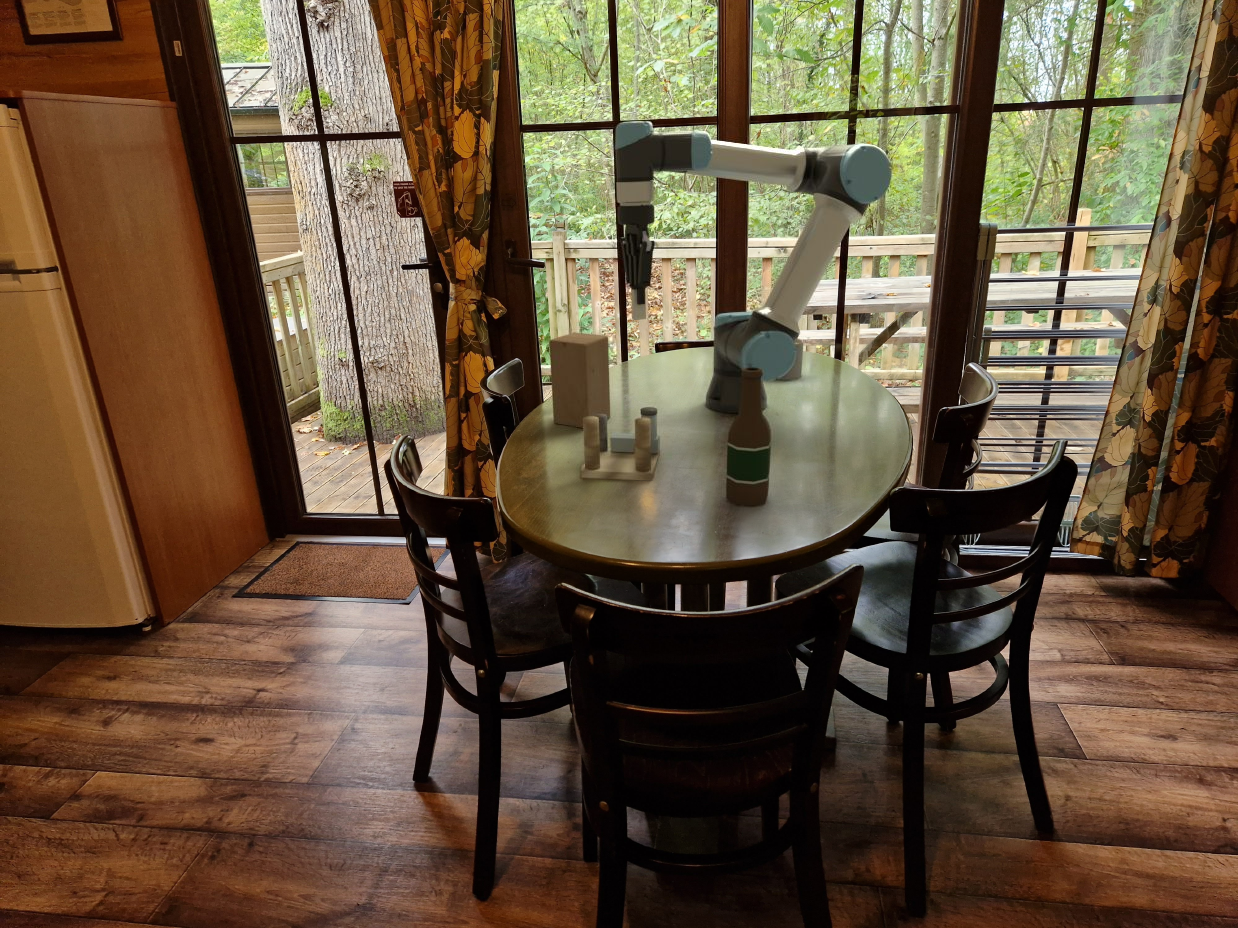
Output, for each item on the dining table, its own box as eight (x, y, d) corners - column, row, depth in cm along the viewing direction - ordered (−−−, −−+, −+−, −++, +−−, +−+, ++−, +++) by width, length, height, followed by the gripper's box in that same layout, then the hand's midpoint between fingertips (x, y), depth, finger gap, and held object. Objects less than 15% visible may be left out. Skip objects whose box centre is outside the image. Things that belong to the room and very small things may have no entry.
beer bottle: (721, 491, 145) (724, 364, 136) (762, 489, 145) (768, 362, 137) (730, 508, 138) (734, 375, 129) (774, 506, 138) (781, 373, 130)
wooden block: (587, 429, 181) (584, 343, 174) (552, 423, 186) (548, 339, 179) (611, 418, 189) (609, 335, 181) (577, 412, 194) (573, 331, 186)
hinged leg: (657, 453, 159) (657, 412, 156) (610, 451, 161) (609, 410, 158) (660, 448, 162) (659, 407, 159) (613, 446, 164) (612, 405, 161)
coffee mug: (799, 371, 226) (801, 337, 223) (802, 380, 217) (805, 344, 213) (752, 371, 228) (753, 337, 224) (753, 380, 219) (755, 344, 215)
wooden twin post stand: (660, 455, 164) (659, 402, 160) (652, 480, 151) (651, 423, 147) (594, 453, 166) (592, 400, 162) (580, 477, 153) (578, 421, 149)
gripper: (666, 204, 156) (667, 322, 165) (639, 202, 167) (642, 312, 176) (631, 206, 154) (635, 326, 162) (607, 204, 165) (611, 316, 173)
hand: (639, 319), depth 169 cm, fingers closed
